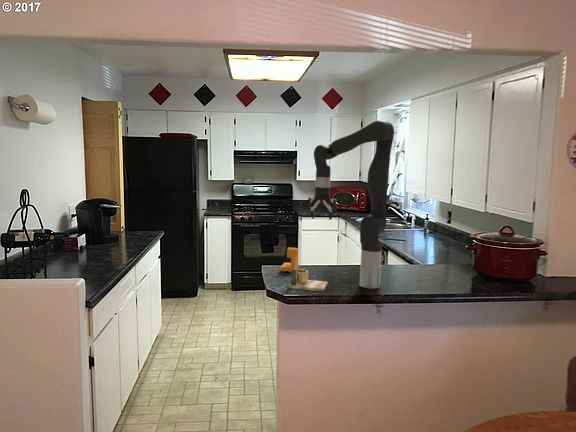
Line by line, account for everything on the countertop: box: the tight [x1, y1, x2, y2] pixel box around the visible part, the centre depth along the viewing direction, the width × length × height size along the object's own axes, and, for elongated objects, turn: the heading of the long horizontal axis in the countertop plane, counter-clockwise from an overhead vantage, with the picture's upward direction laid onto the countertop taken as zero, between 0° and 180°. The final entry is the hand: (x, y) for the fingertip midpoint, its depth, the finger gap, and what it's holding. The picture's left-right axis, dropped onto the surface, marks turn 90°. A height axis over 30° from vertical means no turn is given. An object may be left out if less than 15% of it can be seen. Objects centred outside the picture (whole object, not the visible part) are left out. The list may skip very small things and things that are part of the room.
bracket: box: [280, 246, 299, 273], centre depth 235 cm, size 11×7×12 cm, turn 169°
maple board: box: [287, 269, 329, 293], centre depth 209 cm, size 16×12×8 cm
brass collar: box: [296, 268, 309, 284], centre depth 212 cm, size 6×6×5 cm
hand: (321, 219), depth 226 cm, fingers open, 8 cm apart
